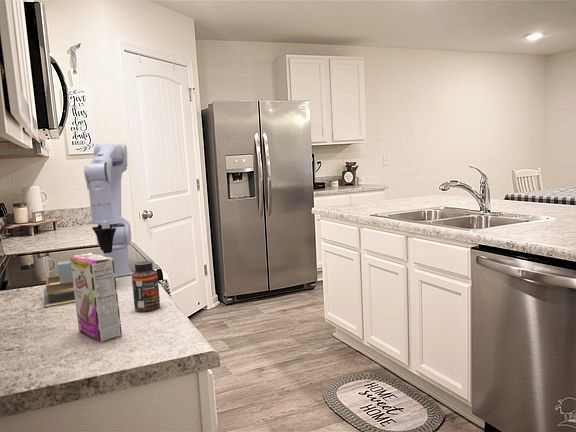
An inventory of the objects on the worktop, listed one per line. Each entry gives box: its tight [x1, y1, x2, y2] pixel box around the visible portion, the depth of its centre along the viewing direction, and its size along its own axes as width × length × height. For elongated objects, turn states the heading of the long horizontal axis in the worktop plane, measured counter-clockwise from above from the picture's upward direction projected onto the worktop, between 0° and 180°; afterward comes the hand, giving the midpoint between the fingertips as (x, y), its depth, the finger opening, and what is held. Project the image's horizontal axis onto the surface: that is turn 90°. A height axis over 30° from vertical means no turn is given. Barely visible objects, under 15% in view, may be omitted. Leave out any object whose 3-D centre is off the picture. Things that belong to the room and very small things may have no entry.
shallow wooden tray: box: [45, 275, 74, 302], centre depth 131 cm, size 11×11×5 cm
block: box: [57, 260, 73, 284], centre depth 131 cm, size 4×4×6 cm
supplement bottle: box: [131, 260, 161, 313], centre depth 115 cm, size 6×6×11 cm
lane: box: [43, 288, 76, 309], centre depth 135 cm, size 22×13×1 cm, turn 27°
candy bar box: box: [69, 252, 123, 343], centre depth 99 cm, size 11×5×16 cm, turn 44°
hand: (106, 251), depth 140 cm, fingers open, 7 cm apart
